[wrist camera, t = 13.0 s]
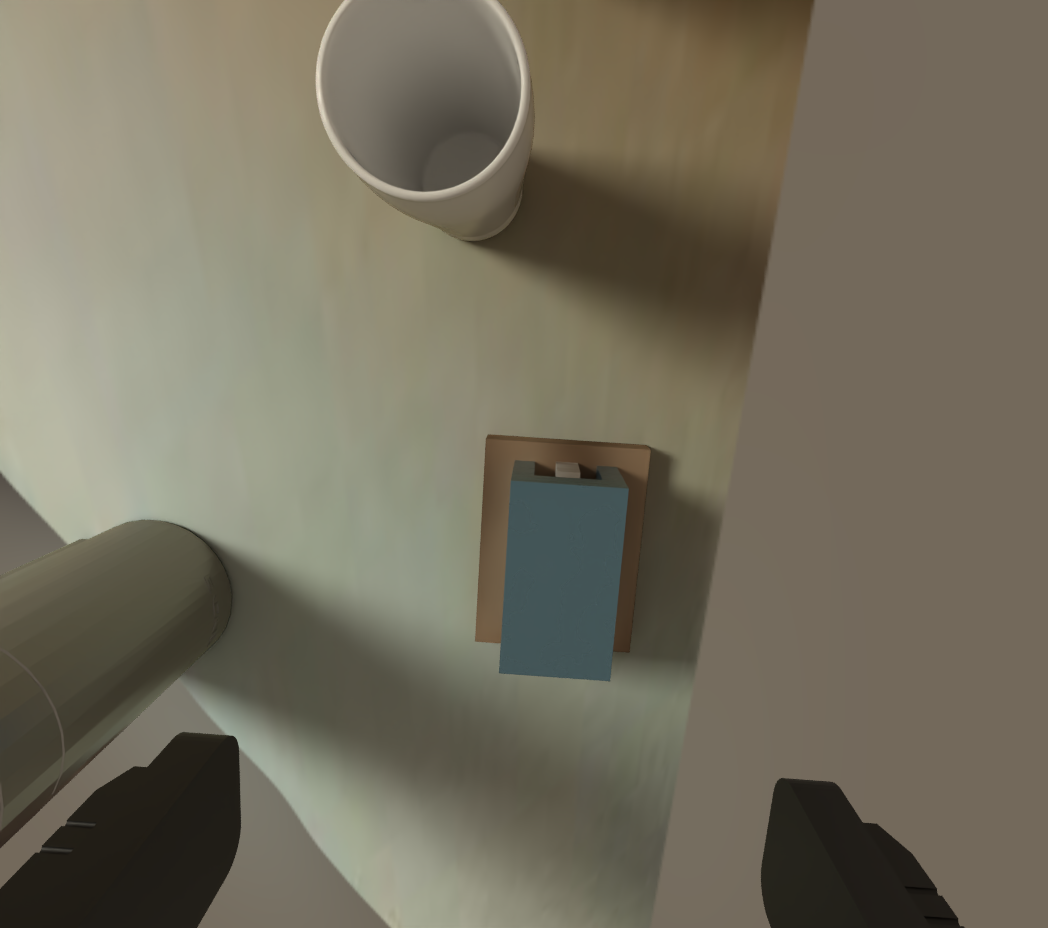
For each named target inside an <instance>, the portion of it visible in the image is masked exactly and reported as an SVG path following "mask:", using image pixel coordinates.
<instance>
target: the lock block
mask: <svg viewBox="0 0 1048 928" xmlns="http://www.w3.org/2000/svg"><path fill="white" fill-rule="evenodd" d="M534 470H535V461H520V460H515V462H514V467H513V472H512V477H511V484H510V501H509V517H508V534H507V550H506V567H505V583H504V600H503V617H502V633H501V650H500V666H499V673H503V674H517V675H531V676H545V677H559V678H573V679H587V680H601V681H610V675H611V665H612V655H613V645H614V635H615V624H616V614H617V604H618V594H619V584H620V574H621V563H622V553H623V543H624V533H625V523H626V513H627V502H628V492H629V488H628V486H627V484H626V483H625V481H624V479H623V477H622V475H621V474H620V472H619V470H618V468H617V467H610V466H597V469H596V479H581V478H566V477H551V476H537V475H534Z"/></svg>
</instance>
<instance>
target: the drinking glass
mask: <svg viewBox="0 0 1048 928" xmlns="http://www.w3.org/2000/svg"><path fill="white" fill-rule="evenodd" d="M316 94H317V102H318V107H319V112H320V115H321V119H322V122H323V125H324V127H325V130H326V132H327V135H328V137H329V139H330V141H331V143H332V144H333V146H334V148H335V149H336V151H337V153H338V154H339V155H340V157H341V158H342V159H343V161H344V162H345V163H346V164H347V165H348V166H349V168H350V169H351V170H352V171H353V172H354V173H355V174H356V175H357V176H358V177H359V178H360V180H361V181H362V182H363V183H364V184H365V185H366V186H367V187H369V188H370V189H371V190H372V191H373V192H374V193H375V194H376V195H377V196H379V197H380V198H381V199H382V200H384V201H385V202H386V203H388V204H389V205H390V206H392V207H393V208H395V209H397V210H398V211H400V212H402V213H403V214H405V215H407V216H409V217H411V218H413V219H416V220H418V221H421V222H423V223H426V224H429V225H431V226H434V227H436V228H439V229H440V230H442V231H443V232H445V233H446V234H448V235H450V236H452V237H454V238H457V239H460V240H465V241H479V240H484V239H488V238H490V237H493V236H495V235H496V234H498V233H500V232H501V231H502V230H504V229H505V228H506V227H507V226H508V225H509V224H510V222H511V221H512V220H513V218H514V217H515V215H516V213H517V211H518V209H519V206H520V203H521V199H522V194H523V181H524V178H525V174H526V170H527V167H528V163H529V159H530V155H531V150H532V144H533V137H534V122H535V113H534V96H533V88H532V80H531V74H530V69H529V62H528V58H527V53H526V50H525V47H524V44H523V41H522V38H521V36H520V34H519V31H518V29H517V27H516V25H515V24H514V22H513V20H512V18H511V17H510V15H509V14H508V12H507V11H506V9H505V8H504V7H503V6H502V4H501V3H500V2H499V1H498V0H344V1H343V3H342V4H341V5H340V7H339V8H338V9H337V11H336V12H335V14H334V16H333V17H332V19H331V20H330V23H329V25H328V27H327V29H326V31H325V34H324V36H323V39H322V42H321V46H320V49H319V53H318V59H317V66H316Z"/></svg>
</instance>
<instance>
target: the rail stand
mask: <svg viewBox="0 0 1048 928" xmlns="http://www.w3.org/2000/svg"><path fill="white" fill-rule="evenodd" d="M650 453H651V450H650V449H649V447H648V446H647V445H636V444H621V443H607V442H592V441H577V440H562V439H547V438H533V437H518V436H503V435H488V436H487V438H486V448H485V466H484V485H483V504H482V523H481V542H480V561H479V579H478V598H477V617H476V636H475V641H476V642H490V643H501V633H502V617H503V600H504V583H505V567H506V550H507V534H508V517H509V501H510V484H511V477H512V472H513V467H514V462H515V460H520V461H535V470H534V475H537V476H551V477H566V478H581V479H596V469H597V466H610V467H617V468H618V470H619V472H620V474H621V475H622V477H623V479H624V481H625V483H626V484H627V486H628V488H629V492H628V502H627V513H626V523H625V533H624V543H623V553H622V563H621V574H620V584H619V594H618V604H617V614H616V624H615V635H614V645H613V651H615V652H630V643H631V633H632V624H633V614H634V605H635V595H636V586H637V576H638V567H639V557H640V548H641V538H642V529H643V519H644V510H645V500H646V491H647V481H648V472H649V462H650Z"/></svg>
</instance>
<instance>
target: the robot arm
mask: <svg viewBox="0 0 1048 928" xmlns="http://www.w3.org/2000/svg"><path fill="white" fill-rule="evenodd" d="M231 602H232V596H231V589H230V583H229V580H228V577H227V574H226V572H225V569H224V567H223V565H222V564H221V562H220V561H219V559H218V557H217V556H216V554H215V553H214V552H213V551H212V550H211V549H210V548H209V547H208V545H207V544H206V543H205V542H204V541H202V540H201V539H199V538H198V537H197V536H195V535H194V534H193V533H191V532H190V531H187V530H185V529H183V528H181V527H179V526H177V525H174V524H171V523H167V522H163V521H157V520H138V521H131V522H127V523H124V524H121V525H119V526H116V527H114V528H112V529H109V530H107V531H105V532H103V533H101V534H98V535H96V536H94V537H92V538H90V539H80V540H77V541H75V542H73V543H71V544H69V545H66V546H64V547H62V548H60V549H58V550H55V551H53V552H51V553H49V554H46V555H44V556H42V557H40V558H38V559H36V560H33V561H31V562H29V563H26V564H24V565H22V566H20V567H18V568H15V569H13V570H11V571H9V572H7V573H5V574H2V575H0V848H1V847H2V846H3V845H4V844H5V843H6V842H7V841H8V840H10V838H12V837H13V836H14V835H15V834H16V833H17V832H18V831H19V830H20V829H21V828H22V827H23V826H24V825H25V824H26V823H27V822H28V821H30V819H32V818H33V817H34V816H35V815H36V814H37V813H38V812H39V811H40V809H42V808H43V807H44V806H45V805H46V804H47V803H48V802H49V801H50V800H51V799H52V798H53V797H54V796H55V795H56V794H57V793H58V792H59V791H60V790H62V789H63V788H64V787H65V786H66V785H67V784H68V783H69V782H70V781H71V780H72V779H73V778H74V777H75V776H76V775H77V774H78V773H79V772H80V771H81V770H82V769H83V768H85V767H86V766H87V765H88V764H89V763H90V762H91V761H92V760H93V759H94V758H95V757H96V756H97V755H98V754H99V753H100V752H101V751H102V750H103V749H104V748H106V746H108V745H109V744H110V743H111V742H112V741H113V740H114V739H115V738H116V737H117V736H118V735H119V734H120V733H121V732H122V731H123V730H124V729H125V728H126V727H127V726H128V725H130V724H131V723H132V722H133V721H134V720H135V719H136V718H137V717H138V716H139V715H140V714H141V713H142V712H143V711H144V710H145V709H146V708H147V707H148V706H149V705H151V704H152V703H153V702H154V701H155V700H156V699H157V698H158V697H159V696H160V695H161V694H162V693H163V692H164V691H165V690H166V689H167V688H168V687H169V686H170V685H171V684H173V683H174V681H175V680H177V679H178V678H179V677H180V676H181V675H182V674H183V673H184V672H185V671H186V670H187V669H188V668H189V667H190V666H191V665H192V664H193V663H194V662H195V661H197V660H198V659H199V658H200V657H201V656H202V655H203V654H204V653H205V652H206V651H207V650H208V649H209V648H210V647H211V646H212V645H213V644H214V643H215V642H216V641H217V640H218V639H219V637H220V636H221V634H222V633H223V631H224V629H225V628H226V626H227V623H228V619H229V616H230V613H231ZM240 809H241V808H240V771H239V746H238V742H237V739H236V738H235V737H234V736H229V735H214V734H202V733H188V732H182V733H180V734H178V735H176V736H175V737H174V738H173V739H172V740H171V742H170V743H169V744H168V745H167V746H166V747H165V748H164V749H163V750H162V751H161V753H160V754H159V755H158V756H157V757H156V758H155V759H154V760H153V761H152V763H151V764H150V765H149V766H148V767H136V766H135V767H133V768H131V769H130V770H128V771H126V772H125V773H123V774H121V775H120V776H118V777H116V778H115V779H113V780H112V781H110V782H108V783H107V784H105V785H104V786H102V787H100V788H99V789H97V790H96V791H95V792H94V793H93V794H92V795H91V796H90V797H89V798H88V799H87V800H86V801H85V802H84V803H83V804H82V805H81V806H80V807H79V808H78V809H77V810H76V811H75V812H74V813H73V814H72V816H70V817H69V819H68V820H67V823H66V825H65V826H61V827H60V828H59V829H58V830H57V831H56V832H55V833H54V834H53V835H52V836H51V837H50V838H49V839H48V840H47V841H46V842H45V843H44V845H42V849H41V851H40V853H35V854H34V855H33V856H32V857H31V858H30V859H29V860H28V861H27V862H26V863H25V864H24V865H23V866H22V867H21V868H20V869H19V870H18V871H17V872H16V873H15V874H14V875H13V876H12V877H11V878H10V879H9V880H8V881H7V882H6V883H5V884H4V886H3V887H2V888H1V889H0V928H197V927H198V925H199V923H200V922H201V920H202V918H203V916H204V915H205V913H206V911H207V910H208V908H209V906H210V904H211V903H212V901H213V899H214V898H215V896H216V894H217V892H218V891H219V889H220V887H221V885H222V884H223V882H224V880H225V878H226V877H227V875H228V873H229V871H230V868H231V866H232V863H233V861H234V858H235V855H236V852H237V848H238V843H239V838H240V830H241V810H240ZM761 887H762V896H763V901H764V907H765V911H766V915H767V918H768V921H769V923H770V926H771V928H964V927H963V926H960V925H959V923H958V918H957V916H956V915H955V914H954V912H953V911H952V909H951V908H950V906H949V905H948V904H947V902H946V901H945V899H944V898H943V897H942V896H938V894H937V888H936V887H935V885H934V884H933V882H932V881H931V880H930V879H929V877H928V876H927V874H926V873H925V871H924V870H923V869H922V867H921V866H920V864H919V863H918V862H917V860H916V859H915V857H914V856H913V854H912V853H911V852H909V851H908V850H907V849H906V848H905V847H903V846H902V845H901V844H900V843H899V842H898V841H896V840H895V839H894V838H893V837H892V836H891V835H889V834H888V833H887V832H886V831H885V830H884V829H882V828H881V827H880V826H879V825H878V824H872V823H863V822H862V821H861V819H860V818H859V817H858V815H857V813H856V812H855V810H854V809H853V807H852V806H851V804H850V803H849V801H848V800H847V798H846V796H845V795H844V793H843V792H842V790H841V789H840V788H839V786H838V785H836V784H835V783H833V782H826V781H813V780H799V779H785V778H781V779H779V780H778V781H777V783H776V785H775V788H774V792H773V799H772V804H771V811H770V817H769V823H768V829H767V835H766V842H765V848H764V854H763V860H762V868H761Z"/></svg>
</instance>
